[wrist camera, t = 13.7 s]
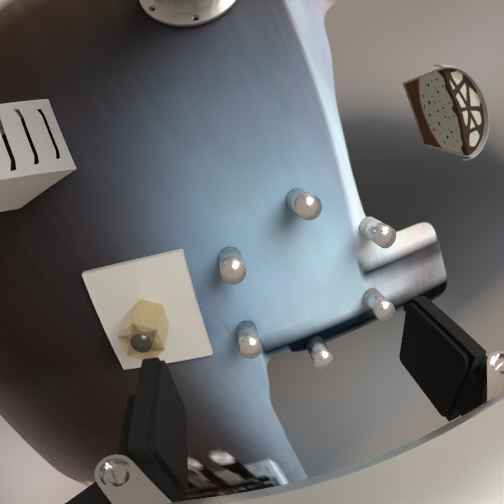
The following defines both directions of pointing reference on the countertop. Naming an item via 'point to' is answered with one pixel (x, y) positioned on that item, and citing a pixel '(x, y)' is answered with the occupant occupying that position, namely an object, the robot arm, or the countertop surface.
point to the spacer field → (316, 346)
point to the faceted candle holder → (144, 330)
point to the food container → (449, 111)
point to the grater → (30, 153)
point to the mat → (155, 290)
